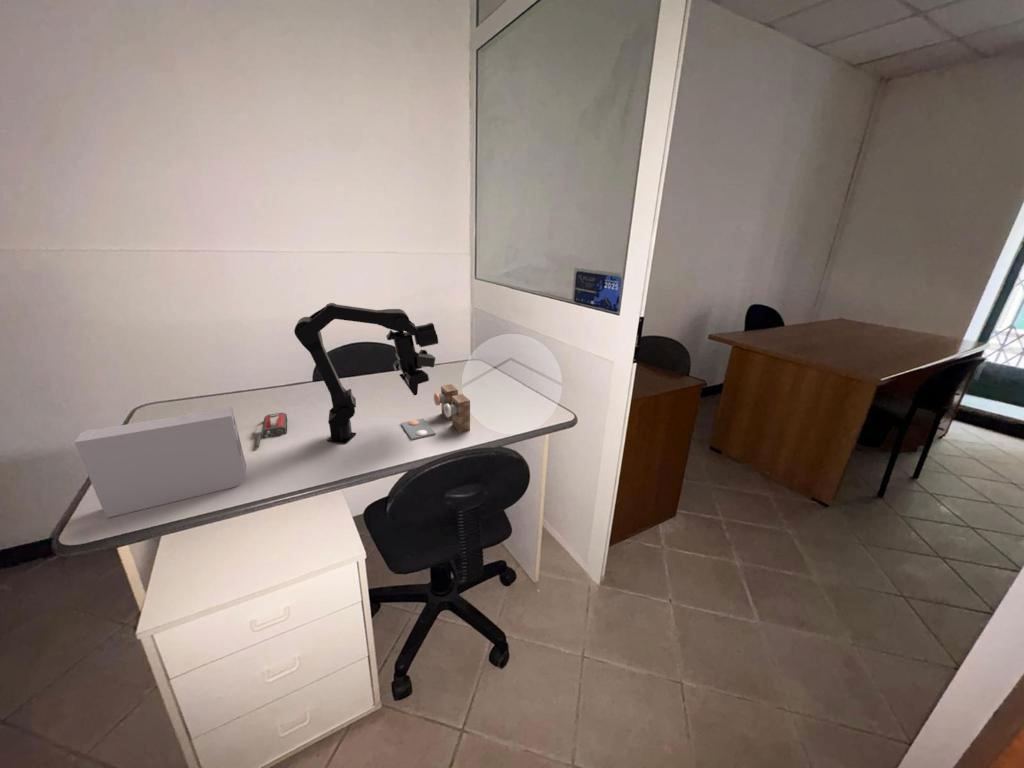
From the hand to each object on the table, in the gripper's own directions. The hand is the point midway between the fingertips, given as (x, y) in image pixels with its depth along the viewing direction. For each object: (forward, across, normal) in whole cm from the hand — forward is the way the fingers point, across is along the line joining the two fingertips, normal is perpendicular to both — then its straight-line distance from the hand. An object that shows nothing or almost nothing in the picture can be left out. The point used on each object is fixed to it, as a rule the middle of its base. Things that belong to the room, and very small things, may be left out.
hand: (415, 394), depth 130 cm
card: (+12, -1, +2) cm, 12 cm away
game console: (+4, -8, +63) cm, 64 cm away
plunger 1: (+9, +4, -11) cm, 14 cm away
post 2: (+14, -6, -12) cm, 19 cm away
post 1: (+14, +4, -12) cm, 19 cm away
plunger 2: (+9, -6, -11) cm, 15 cm away
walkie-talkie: (+6, +17, +44) cm, 48 cm away
